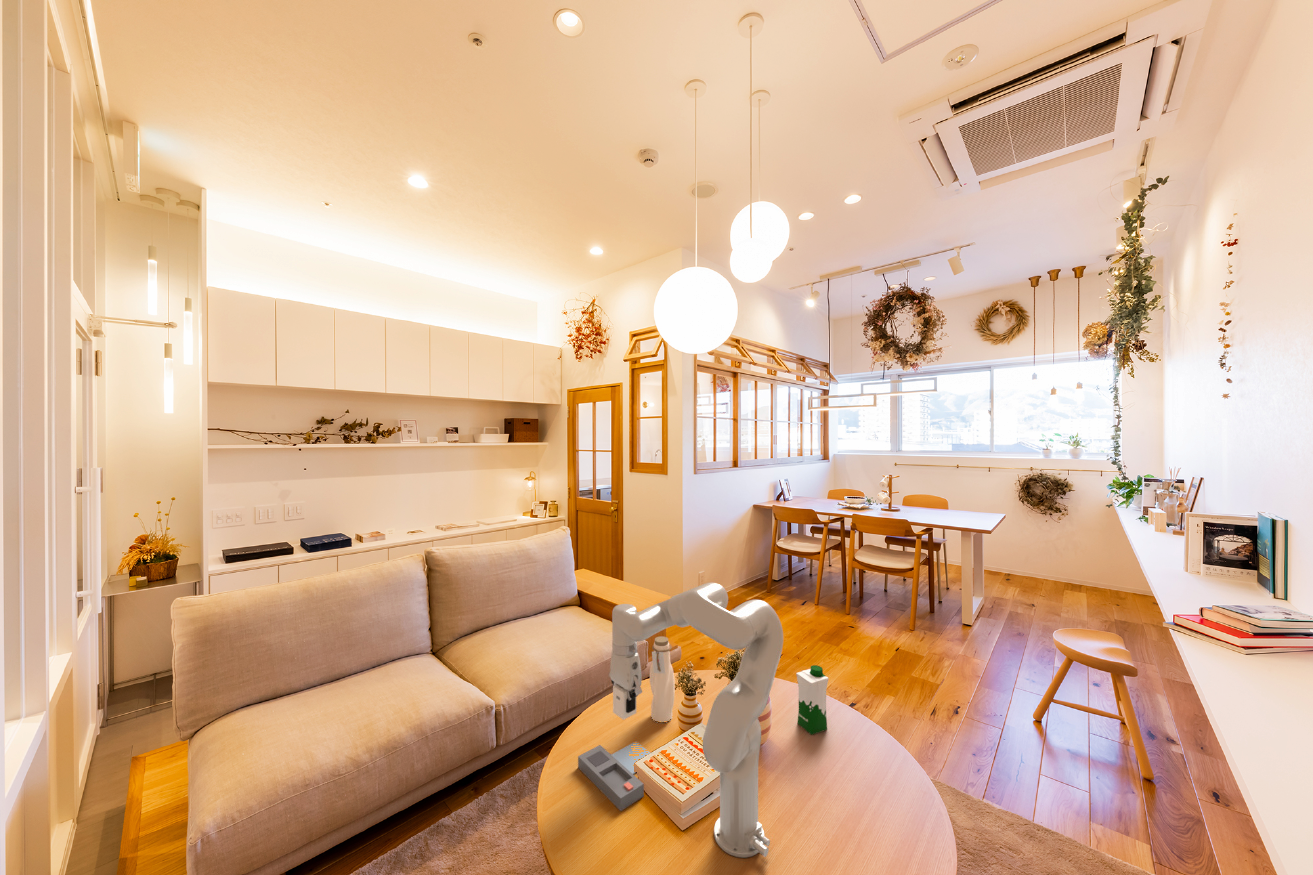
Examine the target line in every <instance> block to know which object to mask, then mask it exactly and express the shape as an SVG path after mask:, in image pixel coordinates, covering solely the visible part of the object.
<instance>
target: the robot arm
mask: <svg viewBox="0 0 1313 875" xmlns="http://www.w3.org/2000/svg"><path fill="white" fill-rule="evenodd" d="M728 603H729V596H728V592H727V590H726V588H725V587H724V586H723V585H722V584H719V583H716V582H707V583H703V584H701V585H698V586H695V587H693V588H690V589H688V590H685V591H683V592H681V593H677V594H675V595H672V596H671V598H669V599H666V600H663V601H660V602H658V603H656V604H653V605H650V606H648V607H646V608H645V609H643V610H641V611H638V610H637V606H635V605H633V604H629V603H622V604H617V605H615V606H614V607H613V609H612V613H611V614H612V615H611V617H612V620H611V621H612V622H611V623H612V627H611V628H612V631H611V632H612V638H611V639H612V640H611V641H612V643H611V644H612V645H611V646H612V650H611V654H610V666H609V673H608V677H609V678H610V680H611V684H612V687H613V686H615V685H617V684H618V685H620V686H621V687H623V688H625V689H626V691H627V698H628V699H626V712H627V713H630V712H631V711H633V710H635V709H636V710H637V697H638V696H639V695H640V694H642V693H643V689H642V687H641V686H642V667H641V659H640V654H639V653H638V642H639V643H641V642H643V641H646V640H647V639H649V638H650V637H652V636H653V635H654V636H655V635H656V634H657V633H660V632H661V631H663V630H666V629H669V628H670V627H673V626H677V627H680V628H686V627H689V626H691V627H692V628H693V629H695V630H696V631H698V632H700V633H701V634H703V635H705V636H706V637H708V638H710V639H712V640H713V641H715V642H716V643H718V644H719V645H722V646H723V647H725V648H726V649H727V648H728V649H730V650H733V651H735V650H736V651H739V650H740V651H741V650H744V649H745V650H744V652H743V654H742V656H741V661H740V663H739V664H740V665H739V667H738V670H737V673H736V675H735V677H734V678H733V680H732V681H730V682H729V684H727V685H726V686H725V687H724V688H723V689H722V690H721V691H720V692H719V693H718V694H717V696H716V697H715V699H714V701H713V703H712V705H711V709H710V713H709V716H708V719H707V724H706V727H705V729H704V734H703V738H702V752H703V755H704V759H705V760H706V762H707V764H708V765H709V766H710V767H711V769H713V770H714V771H716V772H717V773H719V817H718V818H717V820H716V821H715V824H714V828H713V836H714V839H715V842H716V843H717V845H718V846H719V847H720V849H722V851H724V852H725V853H726V854H728V855H731V856H734V857H736V858H751V857H754V856H755V855H757V854H758V853H759V854H761V855H762V856H763V857H764V858H766V857H767V856H768V854H769V848H768V847H769V846H770V844H771V840H770V839H769V838H767V836H765V831H764V828H763V827H762V826H763V824H762V823H760V822H759V758H760V750H761V742H762V728H761V723H760V721H759V717H760V716H761V715H762V713H763V712H764V711H765V709H766V707H767V704H768V700H769V697H770V693H771V689H772V686H773V684H774V680H775V676H776V673H777V668H778V665H779V663H780V660H781V656H782V652H783V645H784V631H783V630H784V629H783V626H782V623H781V620H780V617H779V615H778V614H777V613H776V612H777V611H776V610H775V609H774V608H773V607H772V606H771V605H770V604H769V603H768V602H766V601H765V600H761V599H750V600H746V601H745V602H743V603H741V604H739V605H737V606H735V608H732V609H731V610H730V611H729V610H727V606H728ZM631 690H632V691H633V693H632V694H631V693H630V691H631Z"/></svg>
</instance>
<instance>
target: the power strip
mask: <svg viewBox="0 0 1313 875" xmlns="http://www.w3.org/2000/svg"><path fill="white" fill-rule="evenodd" d="M577 765H578V766H577V768H578V769H579V770H580V771H581V772H582V774H584V775H585V777H587V779H589V780H590V781H591V782H592V784H594V785H595V787H596V788H598V790H599V791H601V793H602V794H603V795H604V796H605V797H606V798H607V799H608V800H609V801H610V802H611V803H612V804H613V805H614V807H616V808H617V809H618V810H619V811H620V812H623V810H625V809H627V808H628V807H630V806H631V805H633V804H634V803H636V802H637V801H638V800H641V798H644V797H645V794H644V793H645V792H644V791H645V790H644V789H645V787H644V786H645V784H644V782H642V781H641V780H640V779H639V778H638V777H637V776H635V774H634V775H633V774H632V773H631V772H630V771H629V770H628V769H626V768H625V767H624V766H623V765H622V764H621V763H620V762H619V761H618V760H616V759H615V758H614V757H613V756H612V753H610V752H608V750H606V749H605V747H604V746H602V745H601V744H598V745H597V746H595V747H593V748H591V749H589V750H588V751H586V752H583V753H581V754H580V755H578V756H577Z"/></svg>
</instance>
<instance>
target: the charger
mask: <svg viewBox="0 0 1313 875" xmlns="http://www.w3.org/2000/svg"><path fill="white" fill-rule="evenodd" d="M630 693H631V694H632V693H633V691H632V690H631V691H630ZM626 699H628V698H627V691H626V689H625V688H623V687H621V686H620V685H618V684H617V685H615V686H613V685H612V713H613V714H614V715H615V716H618V717H619V718H620V719H622V720H623V721H625V720H626V719H628V718H630V717H631V716H633V715H635V714H637V708H636V709H635V710H633V711H631V712H630V713H627V712H626Z"/></svg>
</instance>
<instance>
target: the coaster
mask: <svg viewBox="0 0 1313 875" xmlns="http://www.w3.org/2000/svg"><path fill="white" fill-rule="evenodd" d="M634 742H637V741H634ZM634 742H632V743H630V744H628V745H626V746H624V747H623V748H621V749H618V750H617V751H615V752H613V753H611V755H612V756H613V757H614V758H615V759H616V760H618V761H619V762H620V763H621V764H622V765H623V766H624V767H625V768H626V769H628V770H629V771H630V772H631V773H632V774H633V775H634V776H635V775H636V774H635V772H634V766H633V765H634V763H635V762H636V761H638V759H641V758H643V757H645V755H648V754H650V753H651V752H650V751H649V750H648V751H645V750H647V748H645V747H644V746H643V747H635V748H642V750H644V752H641V753H633V752H639V751H632V750H633V749H631V748H634V747H631V746H642V745H641V744H640V743H639V742H638V743H634ZM633 744H636V745H633ZM637 744H640V745H637ZM635 750H641V749H635ZM629 752H630V753H629ZM646 752H648V753H646ZM629 754H639V756H634V757H633V756H629ZM641 754H643V755H641ZM634 759H636V760H634Z"/></svg>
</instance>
